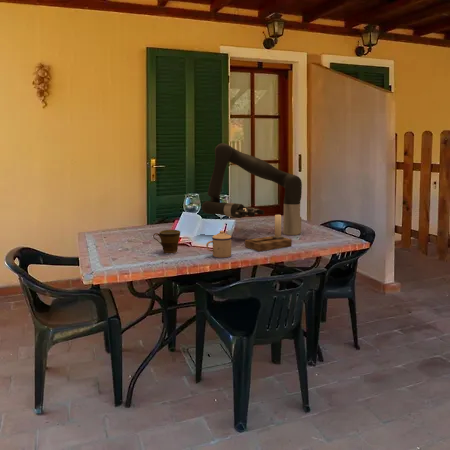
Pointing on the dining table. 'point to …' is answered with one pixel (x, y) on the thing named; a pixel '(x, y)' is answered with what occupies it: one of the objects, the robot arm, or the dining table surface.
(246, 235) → the dining table surface
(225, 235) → the teacup with lid
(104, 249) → the dining table surface
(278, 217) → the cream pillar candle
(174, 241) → the ceramic cup
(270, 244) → the wooden tray
